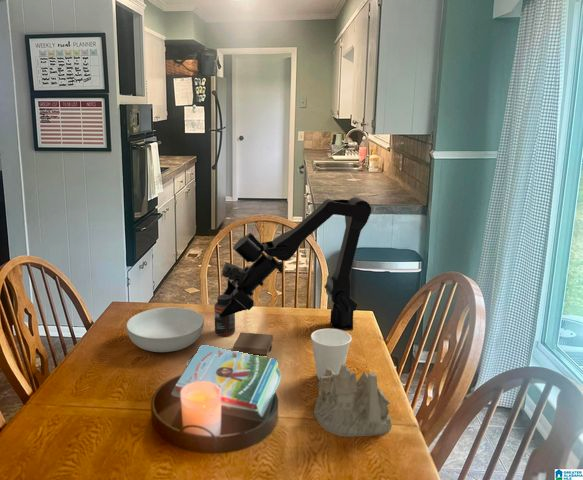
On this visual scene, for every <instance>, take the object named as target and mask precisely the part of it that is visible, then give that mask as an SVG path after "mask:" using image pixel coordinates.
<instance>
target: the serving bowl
mask: <svg viewBox="0 0 583 480" xmlns="http://www.w3.org/2000/svg"><path fill="white" fill-rule="evenodd" d="M204 325H205V319H204V316H203V314H201V313H199V312H198V311H196V310H194V309H191V308H185V307H178V306H177V307H175V306H167V307H166V306H165V307H158V308H156V307H155V308H151V309H148V310H143V311H142V312H139V313H136V314H135V315H133V316H132V317H130V318H129V319H128V320H127V323H126V325H125V326H126V327H125V328H126V331H127V334H128V336H129V339H130V340H131V342H132V343H133V344H134V345H136V346H137V347H139V348H141V349H143V350H145V351H149V352H155V353H169V352H175V351H180V350H184V349H185V348H187V347H189V346H191V345H193V344H194V343H195V342H196V341H197V340H198V339H199V338H200V336H201V334H202V333H203V330H204Z"/></svg>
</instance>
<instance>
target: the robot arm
mask: <svg viewBox="0 0 583 480" xmlns="http://www.w3.org/2000/svg"><path fill="white" fill-rule="evenodd" d="M371 214H372V206H371V204H370V203H369V202H367V201H365V200H364V199H362V198H360V197H354V196H353V197H351V198H349V199H331V198H327V199H325V200H323V202H322V203H321V204H320V205H319V206H318V207H317V208H316V209H314V211H312V212H311V213H310V214H309V215H308V216H307V217H305V218H304V219H303V220H301V222H299V223H298V224H297V225H296V226H295V227H294V228H292V229H291V230H289V231H286V232H283V233H282V234H279V236H276V237H275V238H274V239H273V240H271V241H264V242H263V241H262V242H261V241H259V240H258V239H257V238H256V237H255V235H254V234H253V233H252V232H249V233H247V234H246V235H244V236H243V237H241V238H239V239H238V240H237V242H236V243H235V244H234V246H233V248H232V249H233V250H234V251H235V252H236V253H237V255H239V256H240V257H241V258H242V259H243V260H244V261H245V262H247V263H252V264H251V265H250V266H248V265H247V266H245V267H244V268H242V267H240V266H237V265H235V264H233V263H230V262H226V261H225V263H224V265H223V267H222V269H221V275H222V276H223V277H224V278H226V281H227V282H226V284H227V287H226V288H225V289H224V292H223V293H222V295H230V296H231V300H230V302H229V303H228V304H227V306H226V307H225V308H224V310H223V311H222V312H221V314H220V316H221V317H225V316H228V315H231V314H234V313H235V314H236V313H240V312H243V311H250V310H251V309H252V308H253V307H254V306H255V303H254V298H253V295H254V291H255V290H256V289H257V288H258V287H259V286H261V287H262V286H263V285H265V284H264V281H265V280H266V279H268V277H269V276H270V275H271V274H272V273H273V272H274V271H275V270H277V271H278V272H279V273H280V274H283V272H284V269H283V268H284V263H283V262H287V261H289V260H290V259H292V258H293V256H294V255H295V253H296V252H297V251H298V250H299V248H300V247H301V244H302V243H304V240H306V239H307V238H308V237H309V236H310V235H312V234H313V233H314V232H315V231H316V230H318V228H319V227H321V226H322V225H324V223H326V221H328V220H329V219H330V218H331V217H333V216H334V215H335V216H342V217H343V216H344V222H345V230H344V232H343V238H342V242H341V247H340V250H339V254H338V259H337V263H336V267H335V271H334V272H333V274H332V275H326V283H325V285H324V288H325V293H326V296H327V297H329V299H330V301H332V303H333V305H332V308H331V309H330V325H331V329H338V330H353V329H354V312H356V310H357V306H358V304H357V302H356V301H355V300H354V299H353V298H352V297H351V293H352V292H351V291H352V285H351V273H352V268H353V265H354V260H355V256H356V252H357V248H358V243H359V239H360V236H361V232H362V230H363V229H364V227H366V225H367V223H368V221H369V219H370V216H371ZM278 260H279V261H278Z"/></svg>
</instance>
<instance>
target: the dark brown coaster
mask: <svg viewBox="0 0 583 480" xmlns="http://www.w3.org/2000/svg"><path fill="white" fill-rule="evenodd" d="M273 340H274V335H273V334H267V333H266V334H265V333H254V332H241V331H240V333H239V335H238V337H237V338H236V340H235V342H234V344H233V345H232V352H233V351H239V352H244V353H243V354H256V355H261V356H267V357H268V353H269V352H271V351H272V349H273Z"/></svg>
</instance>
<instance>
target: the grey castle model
mask: <svg viewBox="0 0 583 480" xmlns="http://www.w3.org/2000/svg"><path fill="white" fill-rule="evenodd" d="M377 377H378V376H377V374H376V373H375V372H369V373H368V374H367V372H366V371H363V372H362V375H360V377H359V378H358V380H357V375H356V371H354V372H351V371H350V368H348V367H347V364H346V363H345V364H342V365H341V368H340V371H339V374H336V373H335V372H334V370H332V369H330V368H329V367H328V368H326V372H325V375H323V376H321V377H320V379H318V382H317V383H316V386H317V388H318V396H317V398H316V401H315V405H314V409H313V417H314V418H315V420H317V422H318V424H319V425H320V426H321V428H322V429H324V430H325V431H326V432H328V433H330V434H333V435H335V436H339V437H344V438H352V437H353V438H355V437H369V436H383V435H386V434H388V433H389V432H390V431H391V430H392V428H393V424H392V419H391V415H390V413H389V412H390V408H389V406H388V405H390V404H391V401H390V400H389V399H388V398H387V397H386V396H385V394H384V392H383V391H382V389H381V388H380V387H378V379H377Z"/></svg>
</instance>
